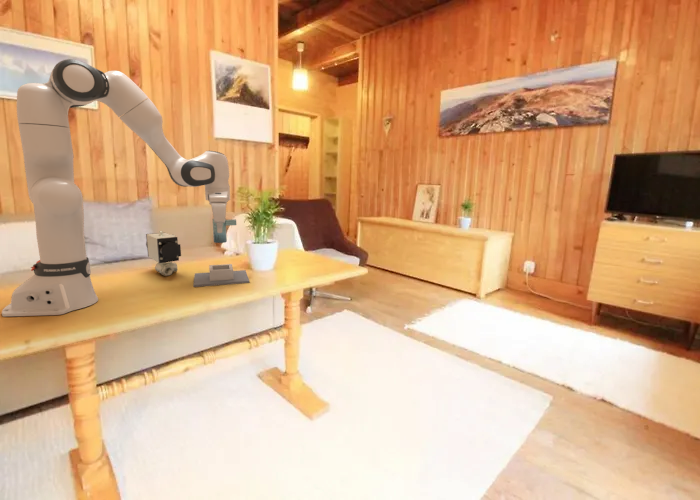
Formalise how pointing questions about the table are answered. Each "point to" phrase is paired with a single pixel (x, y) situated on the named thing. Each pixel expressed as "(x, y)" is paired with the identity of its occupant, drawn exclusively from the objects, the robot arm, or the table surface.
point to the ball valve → (163, 251)
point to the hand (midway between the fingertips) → (219, 231)
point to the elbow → (222, 236)
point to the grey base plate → (220, 276)
